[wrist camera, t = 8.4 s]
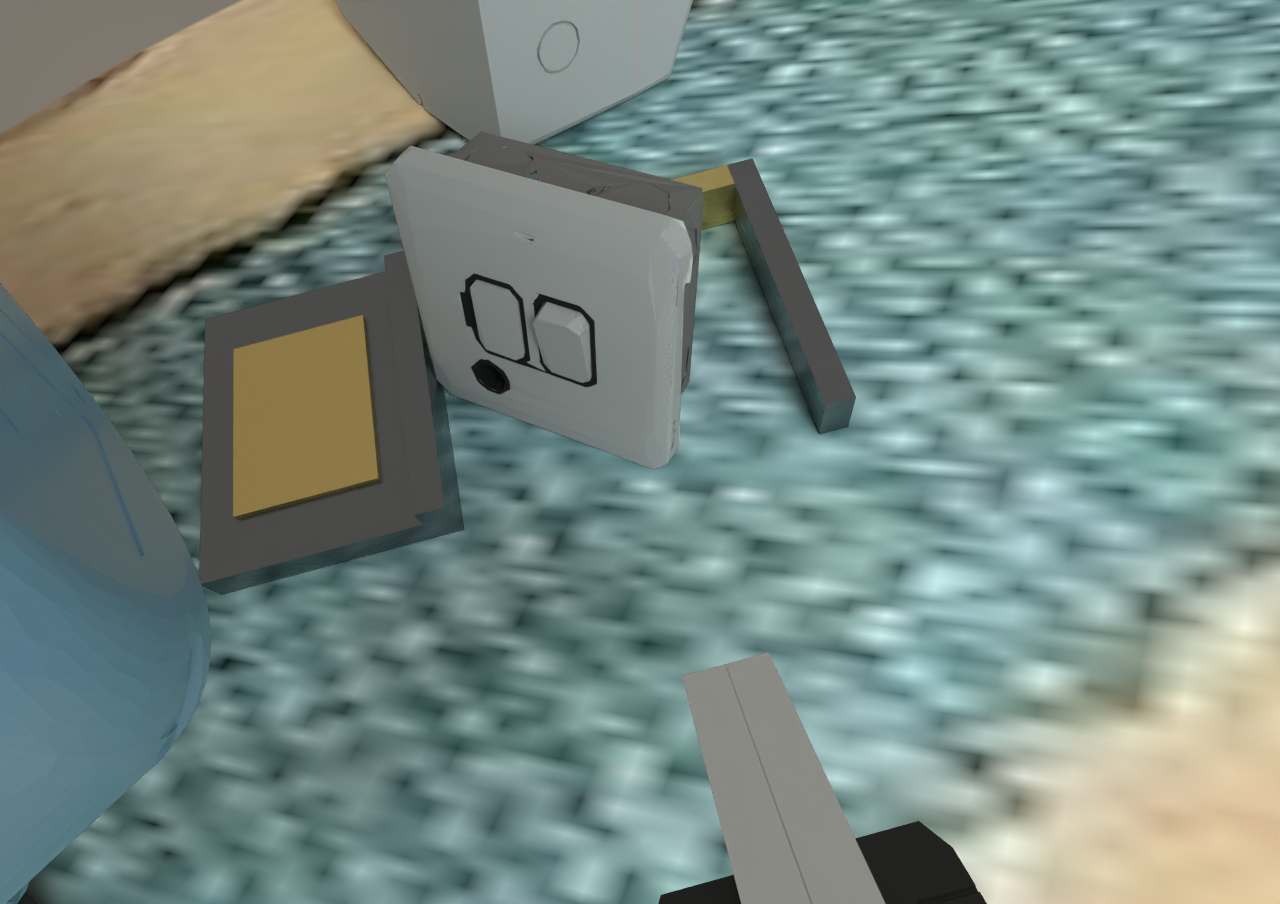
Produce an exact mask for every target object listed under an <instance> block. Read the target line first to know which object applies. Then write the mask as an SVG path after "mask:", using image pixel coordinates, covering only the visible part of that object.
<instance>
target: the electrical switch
mask: <svg viewBox="0 0 1280 904" xmlns="http://www.w3.org/2000/svg"><path fill="white" fill-rule="evenodd" d="M504 146H505V147H507V148H501V147H504ZM533 173H537V179H536V180H533V179H529V177H530V176H531V175H532V174H533ZM385 178H386V182H387V186H388V190H389V194H390V198H391V202H392V205H393V209H394V213H395V217H396V221H397V225H398V229H399V233H400V237H401V241H402V245H403V249H404V253H405V257H406V261H407V265H408V268H409V272H410V276H411V280H412V284H413V288H414V292H415V296H416V300H417V304H418V308H419V312H420V316H421V320H422V324H423V328H424V331H425V335H426V339H427V343H428V347H429V351H430V355H431V359H432V363H433V367H434V371H435V375H436V379H437V380H438V381H439V382H440V383H441V384H442V385H443V386H444V387H445V389H446V390H447V391H448V392H449V393H450V394H452V395H454V396H456V397H459V398H462V399H465V400H467V401H470V402H473V403H475V404H478V405H481V406H483V407H486V408H489V409H492V410H494V411H497V412H500V413H502V414H505V415H508V416H510V417H513V418H516V419H519V420H521V421H524V422H527V423H529V424H532V425H535V426H537V427H540V428H543V429H546V430H548V431H551V432H554V433H556V434H559V435H562V436H565V437H567V438H570V439H573V440H575V441H578V442H581V443H583V444H586V445H589V446H592V447H594V448H597V449H600V450H602V451H605V452H608V453H610V454H613V455H616V456H619V457H621V458H624V459H627V460H629V461H632V462H635V463H637V464H640V465H643V466H646V467H648V468H652V469H658V468H660V467H662V466H664V465H666V464H667V463H668V462H669V461H670V459H671V458H672V456H673V455H674V453H675V452H676V450H677V448H678V445H679V441H680V424H679V420H680V400H681V394H682V392H683V391H684V389H685V388H686V386H687V385H688V383H689V378H690V366H691V353H692V340H693V328H694V315H695V302H696V290H697V277H698V264H699V252H700V239H701V226H702V214H703V201H704V193H703V194H702V195H701V197H700V198H699V199H698V200H697V201H696V199H697V198H698V197H699V195H700V194H701V193H702V188H701V187H697V186H693V185H689V184H685V183H681V182H677V181H673V180H669V179H665V178H661V177H658V176H654V175H650V174H646V173H642V172H638V171H634V170H630V169H626V168H622V167H618V166H615V165H611V164H607V163H603V162H599V161H595V160H591V159H587V158H583V157H579V156H575V155H572V154H568V153H564V152H560V151H556V150H552V149H548V148H544V147H540V146H536V145H532V144H528V143H525V142H521V141H517V140H513V139H509V138H505V137H501V136H497V135H493V134H489V133H485V132H482V131H481V132H479V133H478V134H477V135H476V136H475V137H474V138H472V139H471V140H470V141H469V142H468V143H467V144H465V145H464V146H463V147H462V148H461V149H460V150H458V151H456V152H453V153H450V154H448V155H442V154H438V153H435V152H431V151H428V150H424V149H420V148H417V147H413V146H410V147H409V148H407V149H406V150H405V151H404V152H403V153H402V154H401V155H400V156H399V157H398V158H397V159H396V160H395V161H394V163H393V164H392V166H391V167H390V169H389V170H388V171H387V173H386V174H385ZM648 183H650V184H651V185H650V184H648ZM605 188H607V189H606V190H604V189H605ZM669 198H670V200H669ZM695 201H696V202H695ZM694 202H695V203H694ZM670 203H671V206H670ZM693 203H694V204H693ZM692 204H693V205H692ZM689 208H690V209H689ZM688 209H689V210H688Z"/></svg>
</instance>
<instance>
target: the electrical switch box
mask: <svg viewBox="0 0 1280 904" xmlns="http://www.w3.org/2000/svg"><path fill="white" fill-rule="evenodd" d="M336 1H337V4H338V6H339V8H340V10H341V12H342V13H343V15H344V16H345V18H346V19H347V20H348V21H349V22H350V24H351V25H352V26H353V27H354V28H355V29H356V31H357V32H358V33H359V34H360V35H361V36H362V38H363V39H364V40H365V41H366V42H367V44H368V45H369V46H370V47H371V48H372V49H373V51H374V52H375V53H376V54H377V55H378V57H379V58H380V59H381V60H382V61H383V62H384V64H385V65H386V66H387V67H388V68H389V69H390V71H391V72H392V73H393V74H394V75H395V77H396V78H397V79H398V80H399V81H400V82H401V84H402V85H403V86H404V87H405V88H406V89H407V91H408V92H409V93H410V94H411V95H412V97H413V98H414V99H415V100H416V101H417V102H418V104H419V105H420V104H422V103H423V106H424V110H426V111H427V112H429V113H430V114H432V115H433V116H435V117H436V118H438V119H439V120H440V121H442V122H443V123H445V124H446V125H448V126H449V127H451V128H452V129H454V130H455V131H457V132H458V133H459V134H461V135H462V136H464V137H465V138H467V139H468V140H471V139H472V138H474V137H475V136H476V135H477V134H478V133H479V132H481V131H482V132H485V133H489V134H493V135H497V136H501V137H505V138H509V139H513V140H517V141H521V142H525V143H528V144H532V145H535V144H537V143H539V142H541V141H543V140H545V139H547V138H549V137H551V136H554V135H556V134H558V133H560V132H562V131H564V130H566V129H568V128H570V127H572V126H574V125H577V124H579V123H581V122H583V121H585V120H587V119H589V118H591V117H593V116H595V115H597V114H599V113H602V112H604V111H606V110H608V109H610V108H612V107H614V106H616V105H618V104H620V103H622V102H625V101H627V100H629V99H631V98H633V97H635V96H636V95H638V94H640V93H642V92H644V91H645V90H647V89H649V88H651V87H653V86H654V85H656V84H658V83H660V82H662V81H664V80H665V79H667V78H668V77H669V76H670V75H671V72H672V69H673V65H674V62H675V59H676V55H677V52H678V49H679V45H680V42H681V39H682V35H683V32H684V28H685V25H686V22H687V18H688V15H689V12H690V8H691V5H692V2H693V0H336ZM501 148H507V147H505V146H504V147H501Z"/></svg>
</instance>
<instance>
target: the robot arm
mask: <svg viewBox="0 0 1280 904" xmlns="http://www.w3.org/2000/svg"><path fill="white" fill-rule="evenodd" d="M210 656H211V632H210V619H209V613H208V606H207V602H206V598H205V594H204V591H203V588H202V585H201V581H200V578H199V575H198V572H197V569H196V567H195V565H194V562H193V560H192V558H191V555H190V553H189V551H188V548H187V546H186V544H185V542H184V540H183V538H182V536H181V534H180V532H179V530H178V528H177V526H176V524H175V522H174V520H173V518H172V516H171V515H170V513H169V511H168V509H167V508H166V506H165V504H164V503H163V501H162V499H161V497H160V496H159V494H158V492H157V491H156V489H155V487H154V486H153V484H152V483H151V481H150V479H149V478H148V476H147V475H146V473H145V472H144V470H143V468H142V467H141V465H140V464H139V462H138V461H137V459H136V458H135V456H134V455H133V453H132V452H131V450H130V449H129V447H128V446H127V444H126V443H125V441H124V440H123V439H122V437H121V436H120V434H119V433H118V431H117V430H116V429H115V427H114V426H113V424H112V423H111V422H110V420H109V419H108V417H107V416H106V414H105V413H104V412H103V410H102V409H101V407H100V406H99V405H98V404H97V402H96V401H95V400H94V398H93V397H92V396H91V394H90V393H89V392H88V390H87V389H86V388H85V386H84V385H83V384H82V383H81V381H80V380H79V379H78V377H77V376H76V375H75V374H74V372H73V371H72V370H71V368H70V367H69V366H68V365H67V363H66V362H65V361H64V359H63V358H62V357H61V356H60V354H59V353H58V352H57V350H56V349H55V348H54V347H53V345H52V344H51V343H50V341H49V340H48V339H47V338H46V337H45V335H44V334H43V333H42V332H41V331H40V329H39V328H38V327H37V326H36V325H35V323H34V322H33V321H32V320H31V319H30V318H29V316H28V315H27V314H26V313H25V312H24V310H23V309H22V308H21V307H20V306H19V305H18V303H17V302H16V301H15V300H14V299H13V297H12V296H11V295H10V294H9V293H8V292H7V290H6V289H5V288H4V287H3V286H2V285H1V283H0V904H36V903H35V902H34V900H33V899H32V898H31V897H30V896H29V895H28V894H27V893H26V892H25V891H26V890H27V888H28V884H29V881H30V880H31V879H32V878H33V877H35V876H36V875H37V874H38V873H39V872H40V871H41V870H42V869H43V868H44V867H45V866H46V865H47V864H49V863H50V862H51V861H52V860H53V859H54V858H55V857H56V856H57V855H58V854H59V853H60V852H61V851H63V850H64V849H65V848H66V847H67V846H68V845H69V844H70V843H71V842H72V841H73V840H74V839H75V838H77V837H78V836H79V835H80V834H81V833H82V832H83V831H84V830H85V829H86V828H87V827H88V826H89V825H91V824H92V823H93V822H94V821H95V820H96V819H97V818H98V817H99V816H100V815H101V814H102V813H103V812H105V811H106V810H107V809H108V808H109V807H110V806H111V805H112V804H113V803H114V802H115V801H116V800H117V799H119V798H120V797H121V796H122V795H123V794H124V793H125V792H126V791H127V790H128V789H129V788H130V787H131V786H133V785H134V784H135V783H136V782H137V781H138V780H139V779H140V778H141V777H142V776H143V775H145V774H146V773H147V772H148V771H149V770H150V769H151V768H152V767H153V766H154V765H155V764H157V763H158V762H159V761H160V760H161V759H162V758H163V756H164V755H165V754H166V753H167V752H168V750H169V749H170V748H171V746H172V745H173V743H174V742H175V740H176V739H177V738H178V736H179V735H180V734H181V732H182V731H183V730H184V728H185V727H186V725H187V724H188V723H189V721H190V719H191V717H192V715H193V713H194V711H195V709H196V707H197V705H198V702H199V700H200V697H201V694H202V692H203V689H204V686H205V682H206V678H207V674H208V670H209V663H210ZM682 678H683V682H684V686H685V690H686V694H687V697H688V701H689V705H690V709H691V713H692V717H693V720H694V724H695V728H696V732H697V736H698V740H699V743H700V747H701V751H702V755H703V759H704V763H705V766H706V770H707V774H708V778H709V782H710V786H711V789H712V793H713V797H714V801H715V805H716V809H717V812H718V816H719V820H720V824H721V828H722V832H723V835H724V839H725V843H726V847H727V851H728V855H729V858H730V862H731V866H732V870H733V874H734V875H731V876H728V877H724V878H721V879H717V880H713V881H710V882H706V883H703V884H699V885H695V886H692V887H688V888H685V889H681V890H677V891H674V892H670V893H667V894H663V895H661V897H660V900H659V904H987V903H986V902H985V900H984V898H983V897H982V895H981V893H980V892H978V891H977V889H976V886H975V884H974V882H973V880H972V879H971V877H970V875H969V874H968V872H967V870H966V869H965V867H964V865H963V864H962V862H961V861H960V859H959V857H958V856H957V854H956V852H955V851H954V849H953V848H952V847H951V846H950V845H949V844H947V843H946V842H945V841H943V840H942V839H941V838H940V837H938V836H937V835H936V834H935V833H933V832H932V831H931V830H930V829H928V828H927V827H926V826H925V825H923V824H922V823H921V822H919V821H917V822H913V823H910V824H906V825H903V826H899V827H895V828H892V829H888V830H885V831H881V832H877V833H874V834H870V835H867V836H863V837H859V838H856V839H855V837H854V835H853V833H852V831H851V828H850V826H849V824H848V822H847V820H846V818H845V816H844V813H843V811H842V809H841V807H840V805H839V803H838V800H837V798H836V796H835V794H834V792H833V790H832V788H831V785H830V783H829V781H828V779H827V777H826V775H825V772H824V770H823V768H822V766H821V764H820V762H819V759H818V757H817V755H816V753H815V751H814V749H813V747H812V744H811V742H810V740H809V738H808V736H807V734H806V731H805V729H804V727H803V725H802V723H801V721H800V719H799V716H798V714H797V712H796V710H795V708H794V706H793V703H792V701H791V699H790V697H789V695H788V693H787V691H786V688H785V686H784V684H783V682H782V680H781V678H780V675H779V673H778V671H777V669H776V667H775V665H774V663H773V660H772V658H771V656H770V654H769V652H768V653H765V654H761V655H757V656H754V657H750V658H746V659H743V660H739V661H735V662H732V663H728V664H724V665H721V666H717V667H713V668H710V669H706V670H702V671H699V672H695V673H691V674H688V675H684V676H682Z"/></svg>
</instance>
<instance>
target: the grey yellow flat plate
mask: <svg viewBox="0 0 1280 904" xmlns="http://www.w3.org/2000/svg"><path fill="white" fill-rule="evenodd" d="M673 181H677V182H681V183H685V184H689V185H693V186H697V187H701V188H702V193H701V194H700V195H699V197H698V198H697V199H696V201H697V200H698V199H699V198H700V197H701V195H702V194H703V193H704V201H703V214H702V226H701V230H703V229H707V228H710V227H714V226H718V225H722V224H725V223H729V222H733V221H735V223H736V225H737V228H738V230H739V233H740V235H741V238H742V240H743V243H744V245H745V248H746V250H747V253H748V256H749V258H750V261H751V263H752V266H753V268H754V271H755V273H756V276H757V278H758V281H759V283H760V286H761V288H762V291H763V293H764V296H765V298H766V301H767V303H768V306H769V308H770V311H771V313H772V316H773V318H774V321H775V323H776V326H777V328H778V331H779V333H780V336H781V338H782V341H783V343H784V346H785V348H786V351H787V354H788V356H789V359H790V361H791V364H792V366H793V369H794V371H795V374H796V376H797V379H798V381H799V384H800V386H801V389H802V391H803V394H804V396H805V399H806V401H807V404H808V406H809V409H810V411H811V414H812V416H813V419H814V421H815V424H816V426H817V429H818V431H819V434H823V433H826V432H830V431H834V430H838V429H841V428H845V427H848V425H849V421H850V417H851V414H852V410H853V406H854V402H855V399H856V396H855V394H854V392H853V389H852V387H851V385H850V382H849V380H848V378H847V375H846V373H845V371H844V369H843V366H842V364H841V362H840V359H839V357H838V355H837V352H836V350H835V348H834V346H833V343H832V341H831V339H830V336H829V334H828V332H827V329H826V327H825V325H824V322H823V320H822V318H821V316H820V313H819V311H818V309H817V306H816V304H815V302H814V299H813V297H812V295H811V292H810V290H809V288H808V286H807V283H806V281H805V279H804V276H803V274H802V272H801V269H800V267H799V265H798V263H797V260H796V258H795V256H794V253H793V251H792V249H791V246H790V244H789V242H788V239H787V237H786V235H785V233H784V230H783V228H782V226H781V223H780V221H779V219H778V216H777V214H776V212H775V209H774V207H773V205H772V203H771V200H770V198H769V196H768V193H767V191H766V189H765V186H764V184H763V182H762V179H761V177H760V175H759V173H758V170H757V168H756V166H755V163H754V161H753V159H748V160H744V161H741V162H737V163H733V164H729V165H726V166H722V167H718V168H714V169H710V170H707V171H703V172H699V173H695V174H692V175H688V176H684V177H680V178H676V179H673ZM669 200H670V198H669ZM696 201H695V202H696ZM695 202H694V203H695ZM694 203H693V204H694ZM693 204H692V205H693ZM670 206H671V203H670ZM689 209H690V208H689ZM689 209H688V210H689ZM384 259H385V268H386V271H385V272H381V273H378V274H374V275H370V276H366V277H363V278H359V279H355V280H351V281H348V282H344V283H340V284H336V285H332V286H329V287H325V288H321V289H317V290H314V291H310V292H306V293H302V294H299V295H295V296H291V297H287V298H283V299H280V300H276V301H272V302H268V303H265V304H261V305H257V306H253V307H249V308H246V309H242V310H238V311H234V312H231V313H227V314H223V315H219V316H216V317H212V318H208V319H205V357H204V400H203V443H202V486H201V528H200V571H199V578H200V581H201V585H202V586H203V587H206V588H208V589H210V590H212V591H214V592H216V593H218V594H220V595H222V594H226V593H229V592H233V591H237V590H241V589H244V588H248V587H252V586H255V585H259V584H263V583H267V582H270V581H274V580H278V579H282V578H285V577H289V576H293V575H296V574H300V573H304V572H308V571H311V570H315V569H319V568H323V567H326V566H330V565H334V564H338V563H341V562H345V561H349V560H352V559H356V558H360V557H364V556H367V555H371V554H375V553H379V552H382V551H386V550H390V549H393V548H397V547H401V546H405V545H408V544H412V543H416V542H420V541H423V540H427V539H431V538H435V537H438V536H442V535H446V534H449V533H453V532H457V531H461V530H464V525H463V518H462V511H461V504H460V498H459V491H458V484H457V477H456V470H455V463H454V456H453V450H452V443H451V436H450V429H449V422H448V415H447V408H446V402H445V395H444V388H443V385H442V384H441V383H440V382H439V381H438V380H437V379H436V375H435V371H434V367H433V363H432V359H431V355H430V351H429V347H428V343H427V339H426V335H425V331H424V328H423V324H422V320H421V316H420V312H419V308H418V304H417V300H416V296H415V292H414V288H413V284H412V280H411V276H410V272H409V268H408V265H407V261H406V257H405V253H404V251H401V252H397V253H393V254H390V255H386V256H384Z"/></svg>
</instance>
